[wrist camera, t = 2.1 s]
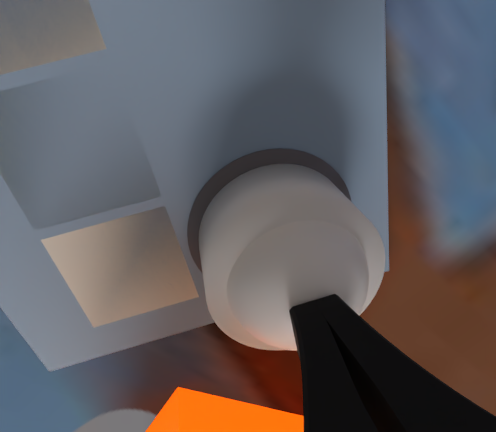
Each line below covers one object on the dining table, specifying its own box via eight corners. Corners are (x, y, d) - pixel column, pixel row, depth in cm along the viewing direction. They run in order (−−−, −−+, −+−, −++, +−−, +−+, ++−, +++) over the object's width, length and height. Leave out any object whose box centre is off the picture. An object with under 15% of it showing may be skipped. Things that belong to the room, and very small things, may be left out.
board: (357, -679, 7) (376, -747, 6) (382, 263, 18) (390, 271, 17) (-617, -551, 6) (-711, -618, 5) (53, 360, 17) (48, 373, 16)
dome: (341, 144, 13) (422, 206, 9) (351, 272, 16) (416, 363, 12) (178, 189, 13) (182, 275, 9) (220, 311, 16) (238, 419, 12)
